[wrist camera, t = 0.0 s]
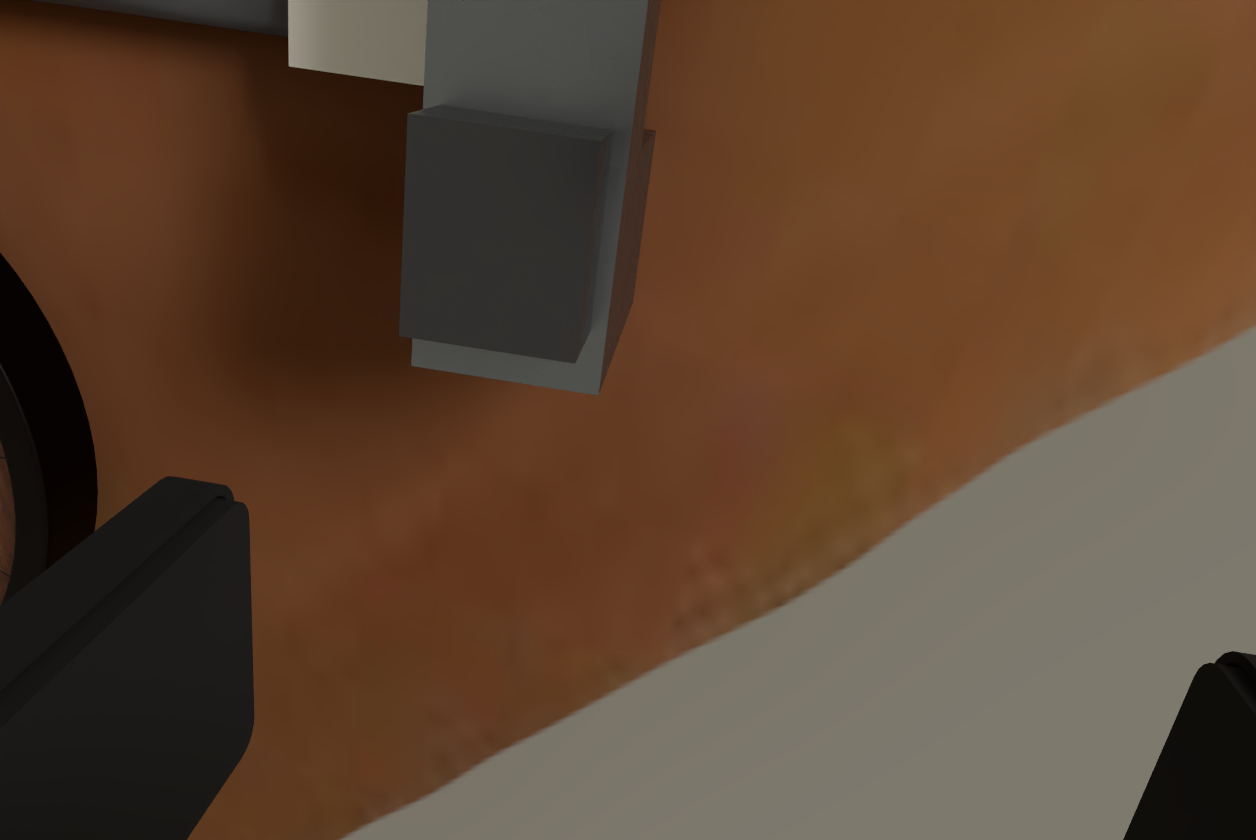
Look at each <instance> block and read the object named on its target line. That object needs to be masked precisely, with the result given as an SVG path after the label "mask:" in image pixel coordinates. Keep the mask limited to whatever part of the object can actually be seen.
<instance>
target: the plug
mask: <svg viewBox="0 0 1256 840" xmlns="http://www.w3.org/2000/svg"><path fill="white" fill-rule="evenodd" d="M33 1H40V2H47V3H54V4H61V5H68V6H75V7H82V8H89V9H96V10H103V11H110V12H117V13H124V14H131V15H138V16H145V17H152V18H159V19H166V20H173V21H180V22H187V23H194V24H200V25H207V26H214V27H221V28H228V29H235V30H242V31H249V32H256V33H263V34H270V35H277V36H284V37H288V49H289V67H296V68H303V69H310V70H317V71H324V72H331V73H338V74H345V75H351V76H358V77H365V78H372V79H379V80H386V81H393V82H400V83H407V84H414V85H421V86H424V71H425V49H426V27H427V5H428V0H33Z"/></svg>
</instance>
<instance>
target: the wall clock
mask: <svg viewBox="0 0 1256 840" xmlns="http://www.w3.org/2000/svg"><path fill="white" fill-rule="evenodd" d="M97 496H98V487H97V468H96V460H95V452H94V445H93V440H92V435H91V430H90V426H89V421H88V418H87V414H86V411H85V407H84V404H83V400H82V397H81V394H80V391H79V389H78V386H77V383H76V380H75V378H74V375H73V372H72V370H71V368H70V365H69V363H68V361H67V359H66V356H65V354H64V352H63V350H62V348H61V346H60V344H59V342H58V340H57V338H56V336H55V334H54V332H53V330H52V328H51V327H50V325H49V323H48V321H47V319H46V318H45V316H44V314H43V313H42V311H41V309H40V308H39V306H38V305H37V303H36V301H35V300H34V298H33V296H32V295H31V294H30V292H29V291H28V289H27V288H26V286H25V285H24V283H23V282H22V281H21V279H20V278H19V276H18V275H17V273H16V272H15V271H14V269H13V268H12V267H11V266H10V264H9V263H8V262H7V261H6V259H5V258H4V257H3V256H2V254H1V253H0V606H1V605H2V604H3V603H5V602H6V601H7V600H9V599H10V598H11V597H12V596H14V595H15V594H16V593H17V592H19V591H20V590H21V589H23V588H24V587H25V586H26V585H28V584H29V583H30V582H31V581H33V580H34V579H35V578H36V577H38V576H39V575H40V574H42V573H43V572H44V571H45V570H47V569H48V568H49V567H50V566H52V565H53V564H54V563H55V562H57V561H58V560H59V559H61V558H62V557H63V556H64V555H66V554H67V553H68V552H69V551H71V550H72V549H73V548H75V547H76V546H77V545H78V544H80V543H81V542H82V541H83V540H85V539H86V538H87V537H88V536H90V535H91V534H92V533H94V530H95V523H96V516H97Z"/></svg>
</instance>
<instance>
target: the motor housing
mask: <svg viewBox="0 0 1256 840" xmlns="http://www.w3.org/2000/svg"><path fill="white" fill-rule="evenodd" d="M660 1H661V0H428V5H427V27H426V49H425V71H424V94H423V109H422V110H418V111H414V112H411V113H407V139H406V164H405V190H404V215H403V241H402V266H401V292H400V317H399V336H401V337H407V338H412V361H411V366H415V367H421V368H428V369H434V370H440V371H447V372H453V373H459V374H466V375H472V376H478V377H485V378H491V379H497V380H504V381H510V382H516V383H523V384H529V385H535V386H542V387H548V388H554V389H561V390H567V391H573V392H580V393H586V394H592V395H599V393H600V390H601V387H602V385H603V382H604V379H605V376H606V374H607V371H608V368H609V366H610V363H611V360H612V357H613V355H614V352H615V349H616V346H617V344H618V341H619V338H620V336H621V333H622V330H623V327H624V325H625V322H626V319H627V317H628V314H629V311H630V308H631V306H632V302H633V295H634V287H635V280H636V273H637V265H638V258H639V250H640V243H641V236H642V228H643V221H644V213H645V206H646V199H647V191H648V184H649V176H650V169H651V162H652V154H653V147H654V139H655V132H656V131H652V130H646V129H644V123H645V116H646V108H647V100H648V93H649V85H650V77H651V70H652V62H653V54H654V47H655V39H656V31H657V24H658V16H659V8H660Z"/></svg>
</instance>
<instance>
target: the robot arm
mask: <svg viewBox="0 0 1256 840" xmlns="http://www.w3.org/2000/svg"><path fill="white" fill-rule="evenodd" d="M253 725H254V687H253V648H252V608H251V569H250V530H249V513H248V509H247V507H246V505H245V504H243V503H242V502H236V501H234V497H233V494H232V492H231V489H229V488H228V487H227V486H226V485H222V484H215V483H209V482H203V481H197V480H191V479H185V478H179V477H170V476H167V477H165V478H163V479H161V480H160V481H158V482H157V483H156V484H154V485H153V486H152V487H151V488H149V489H148V490H147V491H146V492H144V493H143V494H142V495H141V496H139V497H138V498H137V499H135V500H134V501H133V502H132V503H130V504H129V505H128V506H127V507H125V508H124V509H123V510H121V511H120V512H119V513H118V514H116V515H115V516H114V517H113V518H111V519H110V520H109V521H108V522H106V523H105V524H104V525H102V526H101V527H100V528H99V529H97V530H96V531H95V532H94V533H92V534H91V535H90V536H88V537H87V538H86V539H85V540H83V541H82V542H81V543H80V544H78V545H77V546H76V547H75V548H73V549H72V550H71V551H69V552H68V553H67V554H66V555H64V556H63V557H62V558H61V559H59V560H58V561H57V562H55V563H54V564H53V565H52V566H50V567H49V568H48V569H47V570H45V571H44V572H43V573H42V574H40V575H39V576H38V577H36V578H35V579H34V580H33V581H31V582H30V583H29V584H28V585H26V586H25V587H24V588H23V589H21V590H20V591H19V592H17V593H16V594H15V595H14V596H12V597H11V598H10V599H9V600H7V601H6V602H5V603H3V604H2V605H1V606H0V840H187V838H188V837H189V835H190V834H191V832H192V831H193V829H194V828H195V826H196V825H197V823H198V822H199V820H200V819H201V818H202V816H203V815H204V813H205V812H206V810H207V809H208V807H209V806H210V804H211V803H212V801H213V800H214V798H215V797H216V795H217V794H218V792H219V791H220V789H221V788H222V786H223V785H224V783H225V782H226V780H227V779H228V777H229V776H230V774H231V773H232V772H233V770H234V769H235V767H236V766H237V764H238V763H239V761H240V760H241V758H242V756H243V755H244V753H245V751H246V749H247V746H248V744H249V741H250V738H251V735H252V731H253ZM1123 840H1256V655H1252V654H1246V653H1240V652H1234V651H1232V652H1228V653H1225V654H1223V655H1222V656H1221V657H1220V658H1219V659H1217V661H1216V662H1215V664H1213V663H1208V664H1204V665H1203V666H1202V667H1200V668H1199V669H1198V671H1197V673H1196V675H1195V676H1194V678H1193V680H1192V683H1191V685H1190V687H1189V690H1188V692H1187V694H1186V697H1185V699H1184V701H1183V704H1182V706H1181V708H1180V710H1179V713H1178V715H1177V717H1176V720H1175V722H1174V724H1173V726H1172V729H1171V731H1170V733H1169V736H1168V738H1167V740H1166V743H1165V745H1164V747H1163V750H1162V752H1161V754H1160V756H1159V759H1158V761H1157V763H1156V766H1155V768H1154V770H1153V772H1152V775H1151V777H1150V779H1149V782H1148V784H1147V786H1146V789H1145V791H1144V793H1143V795H1142V798H1141V800H1140V803H1139V805H1138V807H1137V809H1136V812H1135V814H1134V816H1133V818H1132V821H1131V823H1130V825H1129V828H1128V830H1127V832H1126V835H1125V837H1124V839H1123Z"/></svg>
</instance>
